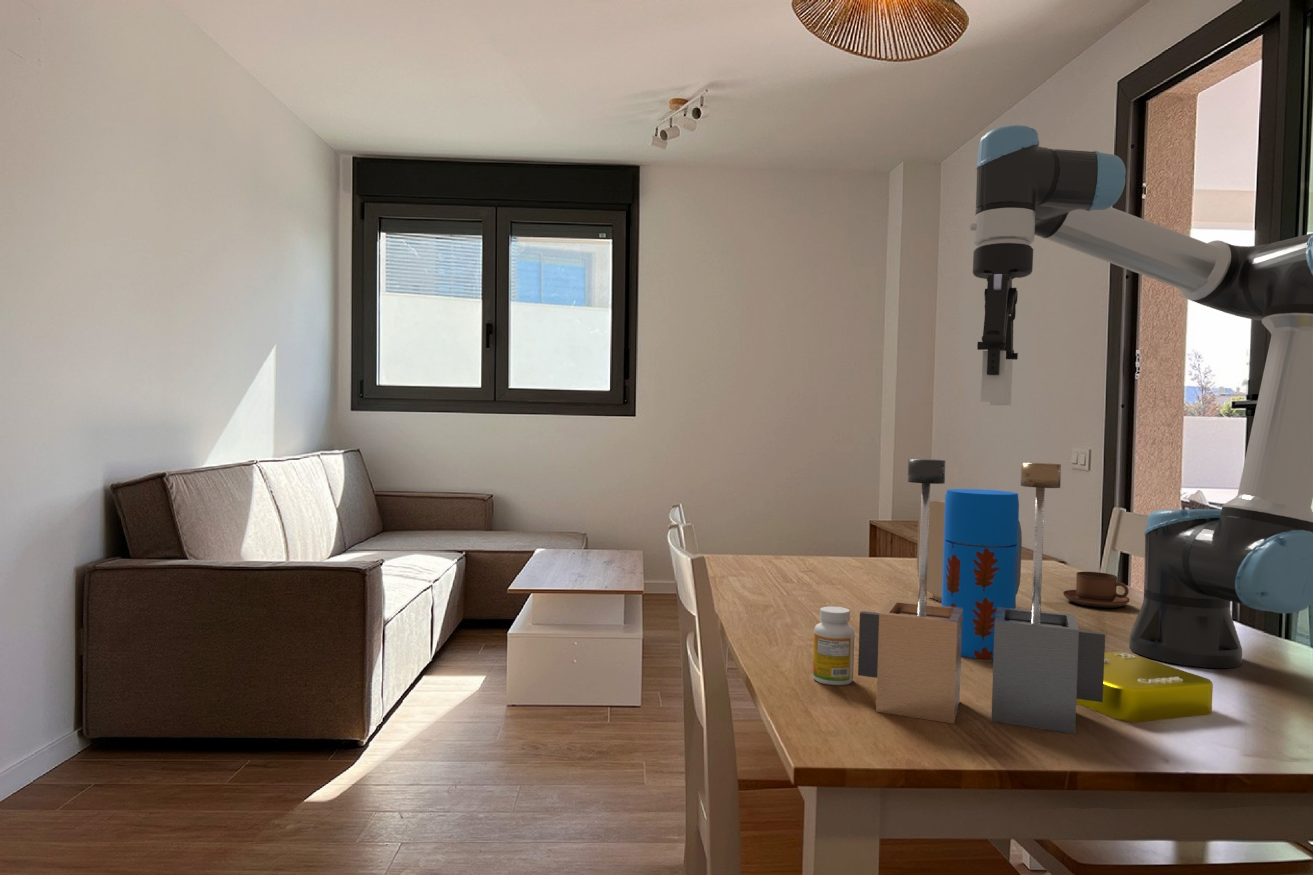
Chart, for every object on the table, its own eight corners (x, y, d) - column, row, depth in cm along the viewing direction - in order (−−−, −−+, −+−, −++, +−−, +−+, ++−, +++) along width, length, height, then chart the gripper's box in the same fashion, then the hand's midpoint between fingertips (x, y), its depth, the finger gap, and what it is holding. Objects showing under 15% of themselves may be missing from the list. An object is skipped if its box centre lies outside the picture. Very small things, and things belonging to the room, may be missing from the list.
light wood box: (959, 701, 110) (962, 607, 110) (953, 723, 101) (957, 622, 101) (864, 687, 115) (867, 597, 114) (851, 707, 106) (854, 610, 106)
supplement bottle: (824, 671, 121) (826, 603, 121) (859, 679, 118) (862, 609, 118) (805, 680, 117) (807, 609, 117) (841, 688, 114) (843, 615, 114)
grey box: (1098, 714, 106) (1102, 617, 106) (1104, 738, 98) (1108, 633, 98) (994, 699, 111) (997, 606, 111) (991, 721, 103) (994, 620, 102)
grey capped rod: (948, 624, 109) (954, 460, 108) (944, 634, 103) (950, 461, 103) (899, 619, 111) (905, 458, 111) (893, 628, 106) (898, 459, 105)
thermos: (1020, 661, 129) (1025, 495, 129) (945, 656, 131) (950, 492, 131) (1005, 643, 140) (1011, 490, 139) (936, 638, 142) (941, 487, 142)
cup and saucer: (1131, 604, 176) (1132, 574, 176) (1127, 614, 166) (1128, 582, 166) (1066, 596, 183) (1067, 567, 183) (1059, 605, 173) (1060, 575, 172)
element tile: (1125, 725, 103) (1126, 686, 103) (1035, 687, 118) (1036, 652, 117) (1219, 716, 108) (1221, 678, 108) (1122, 680, 122) (1123, 647, 122)
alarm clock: (1020, 614, 163) (1024, 500, 162) (977, 616, 160) (980, 500, 160) (955, 592, 182) (958, 491, 182) (915, 594, 180) (919, 491, 179)
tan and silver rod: (1061, 631, 106) (1067, 463, 106) (1063, 642, 101) (1069, 465, 100) (1009, 626, 109) (1014, 461, 108) (1008, 636, 103) (1013, 463, 103)
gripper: (982, 264, 129) (976, 405, 130) (963, 228, 107) (956, 399, 107) (1036, 262, 126) (1030, 407, 126) (1029, 224, 104) (1021, 400, 104)
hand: (996, 403), depth 117 cm, fingers open, 13 cm apart
